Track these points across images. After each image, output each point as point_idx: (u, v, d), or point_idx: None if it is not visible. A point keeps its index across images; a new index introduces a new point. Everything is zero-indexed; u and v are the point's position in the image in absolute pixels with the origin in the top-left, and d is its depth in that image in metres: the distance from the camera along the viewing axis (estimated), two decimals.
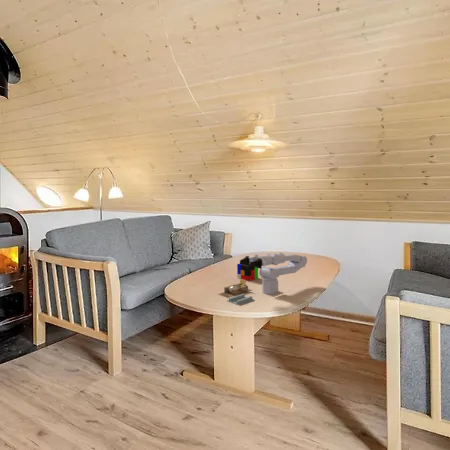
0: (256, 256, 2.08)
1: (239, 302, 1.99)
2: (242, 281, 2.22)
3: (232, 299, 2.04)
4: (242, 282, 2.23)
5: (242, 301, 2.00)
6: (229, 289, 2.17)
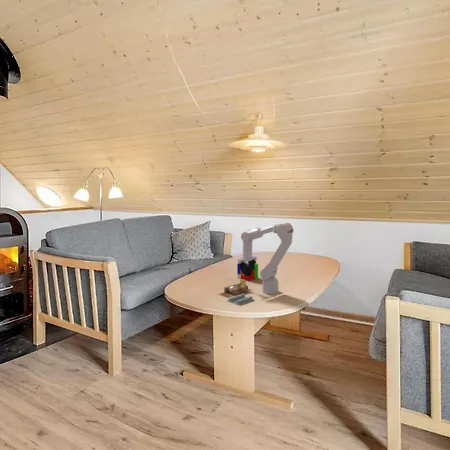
0: None
1: (239, 302, 1.99)
2: (242, 281, 2.22)
3: (232, 299, 2.04)
4: (242, 282, 2.23)
5: (242, 301, 2.00)
6: (229, 289, 2.17)
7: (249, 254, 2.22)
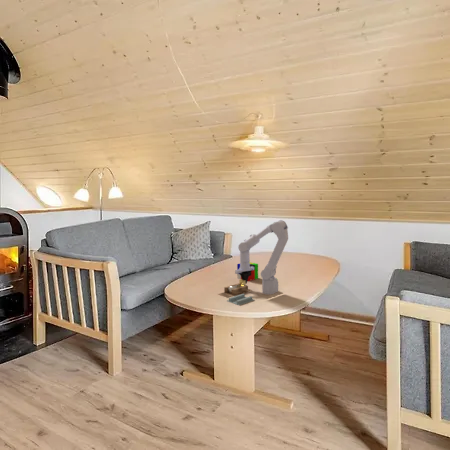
0: None
1: (239, 302, 1.99)
2: (241, 281, 2.22)
3: (232, 299, 2.04)
4: (241, 282, 2.22)
5: (242, 301, 2.00)
6: (228, 289, 2.17)
7: (246, 264, 2.21)
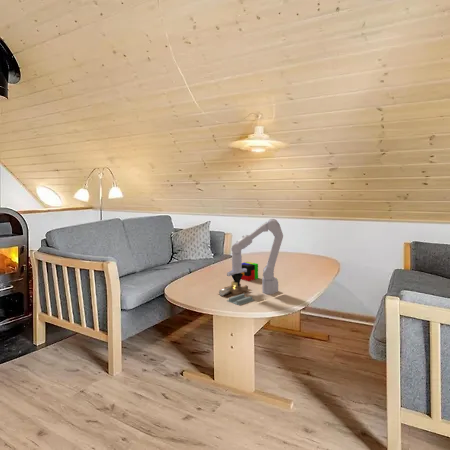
0: None
1: (239, 302, 1.99)
2: (233, 283, 2.18)
3: (232, 299, 2.04)
4: (233, 284, 2.18)
5: (242, 301, 2.00)
6: (220, 291, 2.13)
7: (238, 266, 2.16)
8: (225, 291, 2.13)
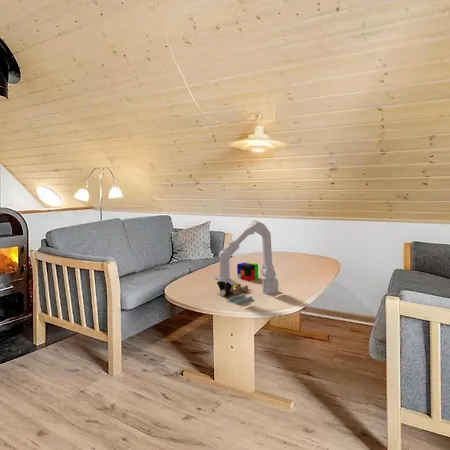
0: (221, 281, 2.11)
1: (239, 302, 1.99)
2: None
3: (232, 299, 2.04)
4: None
5: (242, 301, 2.00)
6: (221, 291, 2.13)
7: None
8: None
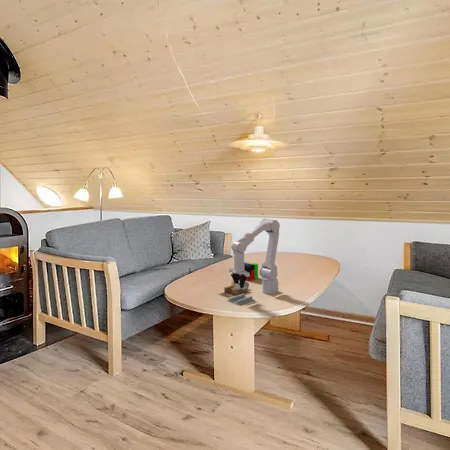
0: (235, 273, 2.01)
1: (239, 302, 1.99)
2: None
3: (232, 299, 2.04)
4: (234, 284, 2.18)
5: (242, 301, 2.00)
6: (235, 285, 2.03)
7: None
8: None
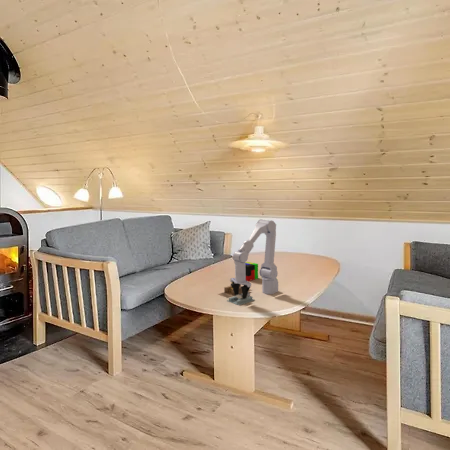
0: (236, 283, 2.01)
1: (239, 302, 1.99)
2: None
3: (232, 299, 2.04)
4: None
5: (242, 301, 2.00)
6: (237, 296, 2.03)
7: None
8: (242, 297, 2.03)
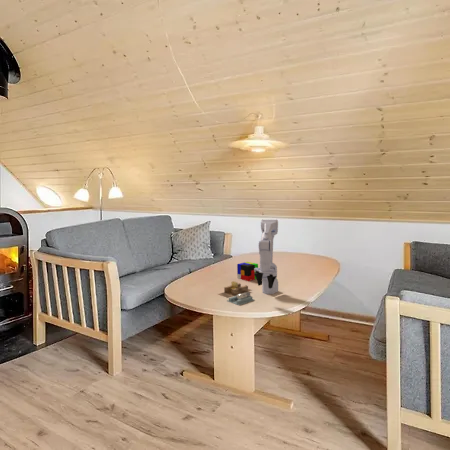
0: (261, 272, 1.97)
1: (239, 302, 1.99)
2: (234, 283, 2.18)
3: (232, 299, 2.04)
4: (234, 284, 2.18)
5: (242, 301, 2.00)
6: (237, 296, 2.03)
7: None
8: (242, 298, 2.03)
